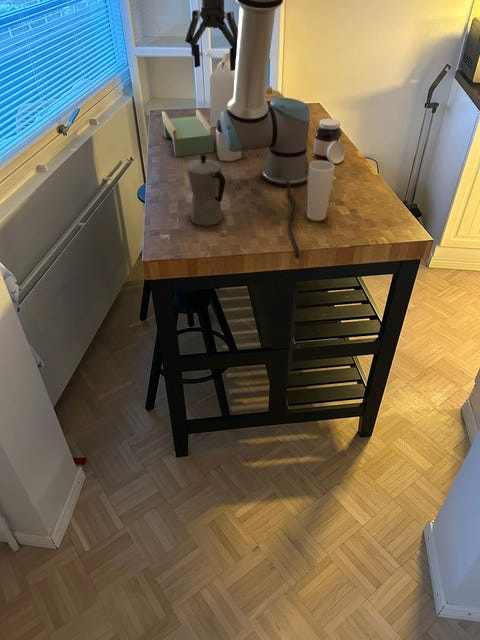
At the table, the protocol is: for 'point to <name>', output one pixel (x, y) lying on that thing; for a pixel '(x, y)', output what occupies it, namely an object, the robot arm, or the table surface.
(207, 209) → the coffeepot
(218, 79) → the milk
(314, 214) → the drinking glass
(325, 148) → the spread jar
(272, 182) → the robot arm
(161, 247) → the table surface
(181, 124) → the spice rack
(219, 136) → the jar
